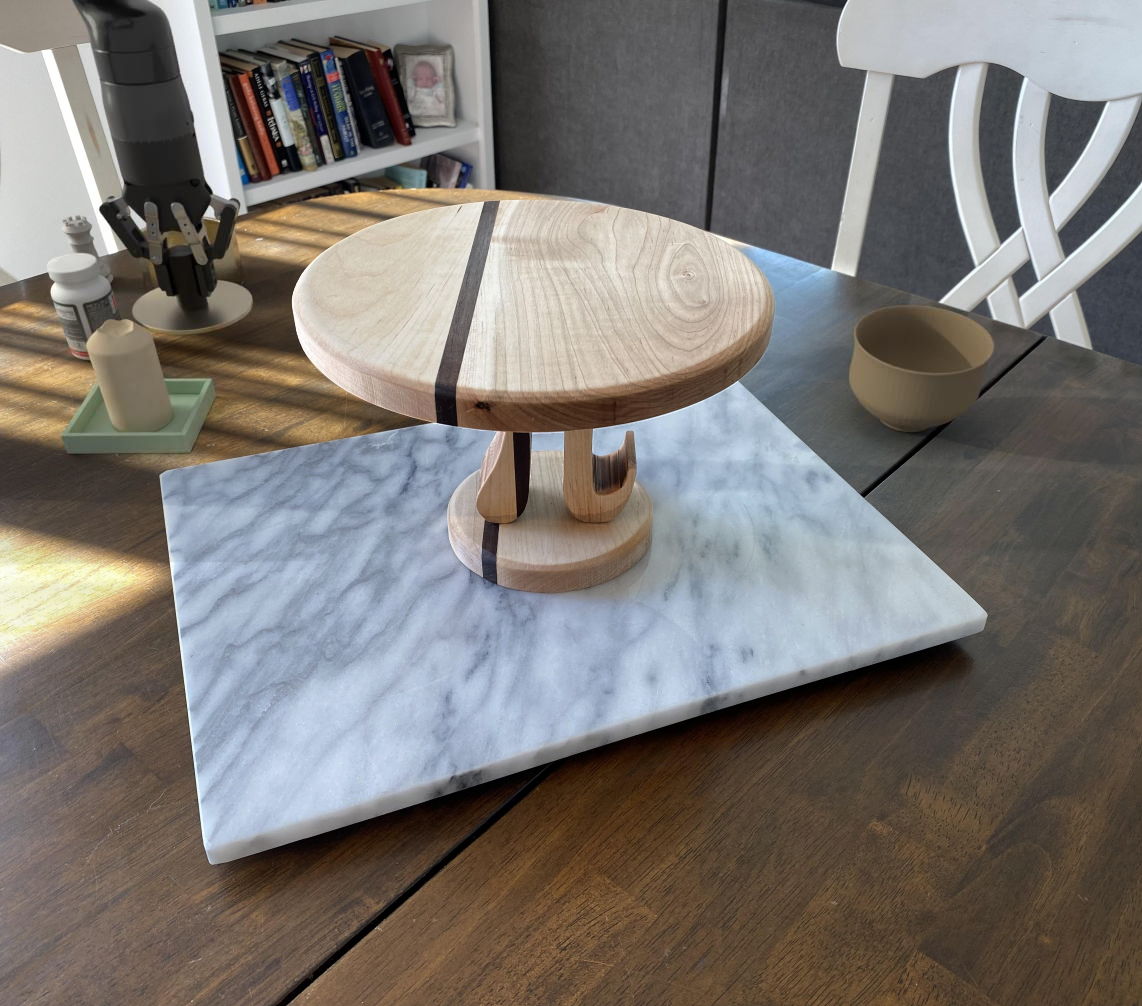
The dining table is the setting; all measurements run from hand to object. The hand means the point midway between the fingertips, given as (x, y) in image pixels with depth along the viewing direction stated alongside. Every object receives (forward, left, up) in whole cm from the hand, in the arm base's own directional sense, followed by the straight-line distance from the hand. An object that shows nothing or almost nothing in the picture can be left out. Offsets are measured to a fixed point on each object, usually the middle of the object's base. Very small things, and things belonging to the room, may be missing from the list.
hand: (190, 292), depth 99 cm
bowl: (+73, -17, -6) cm, 75 cm away
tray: (-1, -17, -6) cm, 18 cm away
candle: (-1, -17, -5) cm, 18 cm away
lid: (0, 0, -2) cm, 2 cm away
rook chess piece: (-16, +14, -6) cm, 22 cm away
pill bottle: (-10, -2, -6) cm, 12 cm away
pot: (-4, +14, -6) cm, 15 cm away
